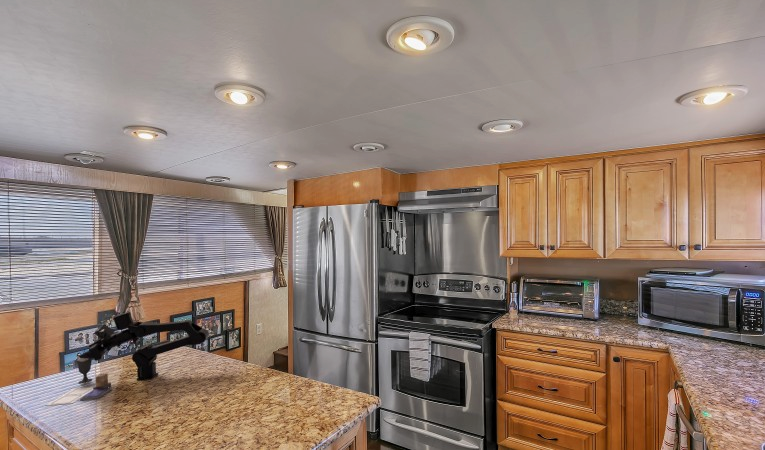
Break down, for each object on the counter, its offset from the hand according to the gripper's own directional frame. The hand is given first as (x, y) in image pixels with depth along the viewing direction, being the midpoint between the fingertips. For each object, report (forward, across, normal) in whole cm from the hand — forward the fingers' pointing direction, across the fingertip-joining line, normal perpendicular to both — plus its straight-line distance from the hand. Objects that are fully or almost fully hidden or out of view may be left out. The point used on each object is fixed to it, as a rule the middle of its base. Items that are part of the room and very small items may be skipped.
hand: (84, 351), depth 163 cm
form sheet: (+3, +14, +12) cm, 19 cm away
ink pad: (-6, +18, +14) cm, 24 cm away
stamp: (-5, +11, +15) cm, 19 cm away
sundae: (+7, -2, +14) cm, 16 cm away
